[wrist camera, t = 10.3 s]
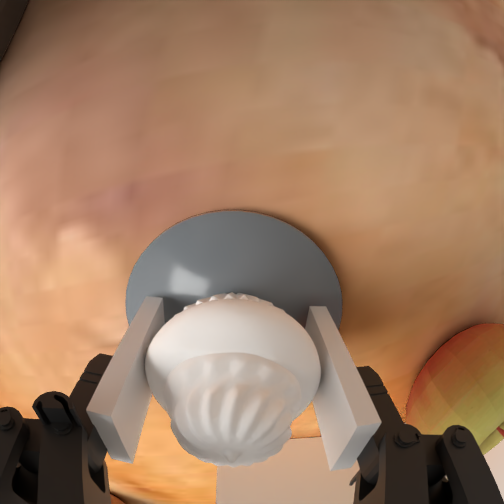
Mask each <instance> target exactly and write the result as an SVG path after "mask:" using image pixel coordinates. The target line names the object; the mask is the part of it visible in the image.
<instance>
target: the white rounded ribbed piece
mask: <svg viewBox="0 0 504 504" xmlns="http://www.w3.org/2000/svg"><path fill="white" fill-rule="evenodd" d="M145 371H146V377H147V381H148V384H149V387H150V389H151V391H152V393H153V395H154V397H155V399H156V400H157V402H158V403H159V404H160V405H161V406H162V407H163V408H164V409H165V410H166V411H167V413H168V415H169V417H170V418H171V429H172V431H173V433H174V435H175V437H176V438H177V440H178V442H179V444H180V445H181V446H182V448H183V449H184V450H186V451H187V452H188V453H189V454H191V455H193V456H195V457H197V458H198V459H199V460H201V461H204V462H207V463H213V464H214V465H216V466H225V465H229V466H230V467H233V468H234V467H237V466H239V465H243V466H251V465H252V464H253V463H259V462H264V461H266V460H267V459H268V458H269V457H271V456H273V455H276V454H277V453H279V452H280V451H281V450H282V448H283V444H285V443H286V442H287V441H288V440H289V439H290V437H291V435H292V431H291V428H290V425H291V423H292V421H293V420H294V419H296V418H297V417H298V416H299V415H300V414H301V413H302V412H303V411H304V410H305V409H306V408H307V407H308V405H309V404H310V403H311V401H312V399H313V398H314V396H315V394H316V392H317V390H318V387H319V383H320V378H321V366H320V360H319V356H318V352H317V349H316V347H315V345H314V342H313V341H312V339H311V337H310V336H309V334H308V333H307V332H306V330H305V329H304V328H303V327H302V326H301V325H300V324H299V323H298V322H297V321H296V320H295V319H294V318H292V317H291V316H290V315H288V314H286V313H285V311H284V310H282V309H280V308H277V307H275V306H273V304H272V303H271V302H268V301H265V300H261V299H259V298H257V297H255V296H251V295H247V294H242V293H237V294H234V293H233V292H231V293H229V294H226V293H223V294H218V295H213V296H211V297H208V298H204V299H200V300H197V302H196V303H194V304H192V305H188V306H185V307H184V311H182V312H180V313H178V314H175V315H174V317H173V318H171V319H170V320H169V321H168V322H167V323H166V324H165V325H164V326H163V327H162V328H161V329H160V330H159V331H158V333H157V334H156V335H155V337H154V338H153V340H152V342H151V343H150V345H149V348H148V350H147V353H146V358H145Z"/></svg>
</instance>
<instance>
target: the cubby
mask: <svg viewBox="0 0 504 504" xmlns="http://www.w3.org/2000/svg"><path fill="white" fill-rule="evenodd" d="M405 424H406V423H405ZM359 469H360V468H359V464H358V461H357V460H356V462H355V463H354V464H353V466H352V467H351V468H346V469H340V470H334V471H330V468H329V464H328V460H327V456H326V452H325V448H324V444H323V441H322V437H312V438H297V439H289V440H288V441H287V442H286V443H285V444H283V448H282V450H281V451H280V452H279V453H277V454H276V455H273V456H271V457H269V458H268V459H267V460H266V461H264V462H259V463H253V464H252V465H251V466H243V465H239V466H237V467H234V468H233V467H230V466H229V465H225V466H217V486H216V504H353V501H354V493H355V484H356V481H355V483H354V484H353V485H352V486H350V485H349V484H350V481H351V479H352V478H353V477H354V476H355V474H356V473H357V472H358V471H359ZM445 477H446V479H447V476H445ZM447 480H448V479H447Z"/></svg>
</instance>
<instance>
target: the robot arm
mask: <svg viewBox="0 0 504 504" xmlns="http://www.w3.org/2000/svg"><path fill="white" fill-rule="evenodd" d="M27 3H28V0H0V61H1V59H2V57H3V55H4V53H5V51H6V49H7V47H8V45H9V43H10V41H11V39H12V37H13V34H14V32H15V30H16V28H17V26H18V24H19V22H20V19H21V17H22V15H23V13H24V10H25V8H26V6H27ZM164 325H165V320H164V308H163V298H160V297H150V296H146V298H145V299H144V301H143V303H142V304H141V306H140V308H139V310H138V311H137V313H136V315H135V317H134V318H133V320H132V322H131V324H130V326H129V327H128V329H127V331H126V333H125V335H124V337H123V338H122V340H121V342H120V344H119V346H118V348H117V349H116V351H115V353H114V355H113V356H111V355H105V354H98V355H97V356H96V357H94V358H93V359H92V360H91V361H90V362H89V363H88V365H87V367H86V368H85V370H84V373H83V374H82V375H81V377H80V380H79V381H78V382H77V384H76V386H75V388H74V389H73V391H72V393H71V395H70V397H68V396H67V395H65V394H63V393H61V392H56V391H52V392H46V393H44V394H42V395H40V396H39V397H38V398H37V399H36V400H35V401H34V404H33V406H32V407H33V409H34V411H35V412H36V414H37V416H38V417H39V419H27V418H23V417H22V415H21V414H20V412H19V411H18V410H16V409H15V408H13V407H3V408H0V504H111V497H110V490H109V481H108V471H107V466H106V462H105V461H104V459H105V456H106V453H107V452H108V453H109V455H110V457H111V458H112V459H115V460H119V461H123V462H128V463H132V464H133V461H134V457H135V453H136V449H137V446H138V442H139V438H140V435H141V431H142V428H143V424H144V420H145V417H146V414H147V410H148V407H149V403H150V400H151V397H152V391H151V389H150V387H149V384H148V381H147V377H146V371H145V358H146V353H147V350H148V348H149V345H150V343H151V342H152V340H153V338H154V337H155V335H156V334H157V333H158V331H159V330H160V329H161V328H162V327H163V326H164ZM305 330H306V332H307V333H308V334H309V336H310V337H311V339H312V341H313V342H314V345H315V347H316V349H317V352H318V356H319V360H320V366H321V378H320V383H319V387H318V390H317V392H316V394H315V396H314V398H313V399H312V402H313V406H314V410H315V413H316V417H317V421H318V425H319V429H320V433H321V437H322V441H323V444H324V448H325V452H326V456H327V460H328V464H329V468H330V471H334V470H340V469H346V468H351V467H352V466H353V464H354V463H355V462H356V460H357V461H358V464H359V468H360V469H359V471H358V472H357V473H356V474H355V476H354V477H353V478H352V479H351V481H350V484H349V485H350V486H352V485H353V484H354V483H355V481H356V484H355V493H354V501H353V504H504V501H503V499H502V497H501V494H500V491H499V489H498V486H497V484H496V482H495V479H494V477H493V475H492V473H491V471H490V468H489V466H488V464H487V462H486V460H485V458H484V456H483V454H482V452H481V450H480V448H479V446H478V444H477V442H476V440H475V438H474V436H473V434H472V433H471V432H470V430H469V429H467V428H466V427H464V426H461V425H452V426H450V427H448V428H447V429H446V430H445V432H444V433H443V434H442V435H428V434H421V432H420V431H419V430H418V429H417V428H415V427H414V426H412V425H409V424H405V423H404V422H403V421H402V419H401V417H400V415H399V413H398V411H397V409H396V407H395V405H394V403H393V401H392V399H391V398H390V396H389V394H387V390H386V388H385V386H383V382H382V381H381V379H380V377H379V375H378V374H377V373H376V372H375V371H374V370H373V369H372V368H370V367H369V366H364V367H356V366H355V364H354V362H353V360H352V358H351V356H350V354H349V351H348V349H347V347H346V345H345V343H344V341H343V339H342V337H341V335H340V333H339V331H338V329H337V327H336V325H335V323H334V321H333V319H332V317H331V315H330V313H329V311H328V309H327V307H326V306H310V307H309V312H308V317H307V322H306V327H305ZM445 476H447V479H448V480H447V479H446V477H445Z"/></svg>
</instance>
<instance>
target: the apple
mask: <svg viewBox="0 0 504 504" xmlns="http://www.w3.org/2000/svg"><path fill="white" fill-rule="evenodd" d="M406 424H409V425H412V426H414V427H415V428H417V429H418V430H419V431H420V432H421V434H428V435H442V434H443V433H444V432H445V430H446V429H447V428H448V427H450V426H452V425H461V426H464V427H466V428H467V429H469V430H470V432H471V433H472V434H473V436H474V438H475V440H476V442H477V444H478V446H479V448H480V450H481V452H482V454H483V455H484V454H486V453H487V452H488V451H489V450H491V449H492V448H493V447H495V446H496V445H497V444H498V443H499V442H500V441H501V440H503V439H504V324H496V323H488V324H479V325H475V326H472V327H470V328H468V329H466V330H464V331H462V332H460V333H458V334H457V335H455V336H454V337H452V338H451V339H450V340H449V341H447V342H446V343H445V344H444V345H442V346H441V347H440V348H439V349H438V350H437V351H436V353H435V354H434V355H433V356H432V357H431V358H430V359H429V360H428V361H427V363H426V364H425V366H424V367H423V369H422V370H421V372H420V373H419V375H418V376H417V378H416V380H415V382H414V385H413V387H412V390H411V392H410V395H409V398H408V402H407V406H406Z"/></svg>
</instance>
